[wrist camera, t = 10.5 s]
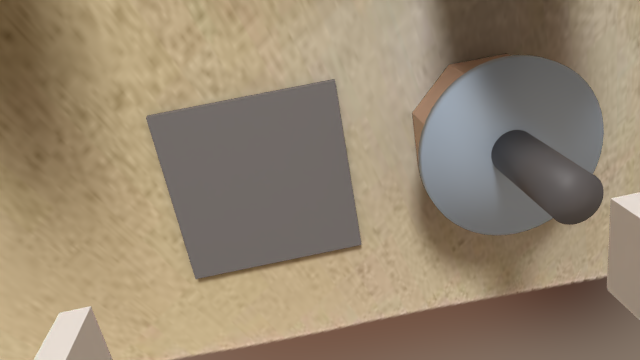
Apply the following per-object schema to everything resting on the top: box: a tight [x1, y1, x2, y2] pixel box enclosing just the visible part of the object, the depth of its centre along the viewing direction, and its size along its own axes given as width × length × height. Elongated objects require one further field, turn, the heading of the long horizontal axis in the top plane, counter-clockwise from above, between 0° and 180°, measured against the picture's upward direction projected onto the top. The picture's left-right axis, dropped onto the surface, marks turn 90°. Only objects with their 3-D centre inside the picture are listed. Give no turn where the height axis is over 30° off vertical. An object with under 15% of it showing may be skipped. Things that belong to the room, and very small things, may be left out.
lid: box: [418, 55, 604, 235], centre depth 35 cm, size 13×13×9 cm
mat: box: [146, 79, 361, 279], centre depth 43 cm, size 14×14×1 cm
